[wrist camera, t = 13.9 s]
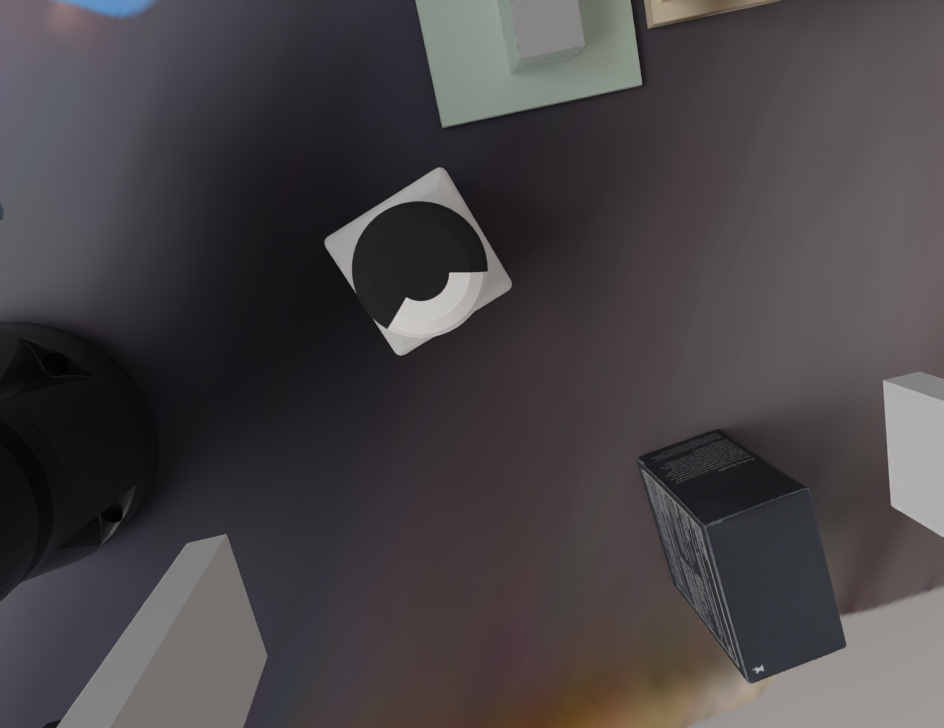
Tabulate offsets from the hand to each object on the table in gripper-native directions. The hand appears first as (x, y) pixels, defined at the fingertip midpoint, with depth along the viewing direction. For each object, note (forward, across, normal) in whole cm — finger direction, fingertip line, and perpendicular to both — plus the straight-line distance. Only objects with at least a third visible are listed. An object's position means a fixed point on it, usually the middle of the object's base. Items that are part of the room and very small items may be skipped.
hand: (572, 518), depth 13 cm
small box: (+29, -13, +17) cm, 36 cm away
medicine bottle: (+29, +2, -4) cm, 29 cm away
